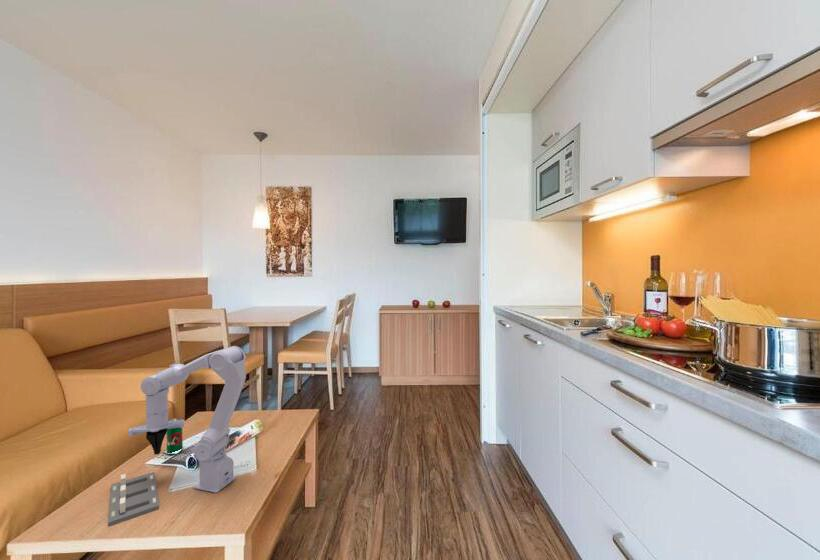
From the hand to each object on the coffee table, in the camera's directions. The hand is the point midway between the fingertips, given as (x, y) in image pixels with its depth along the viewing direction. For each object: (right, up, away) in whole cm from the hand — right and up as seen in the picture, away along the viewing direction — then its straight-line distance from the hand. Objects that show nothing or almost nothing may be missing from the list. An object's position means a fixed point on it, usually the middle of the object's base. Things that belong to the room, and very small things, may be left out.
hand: (157, 452), depth 113 cm
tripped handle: (+1, -8, -15) cm, 18 cm away
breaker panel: (-1, -10, -8) cm, 12 cm away
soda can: (-7, -9, +19) cm, 22 cm away
